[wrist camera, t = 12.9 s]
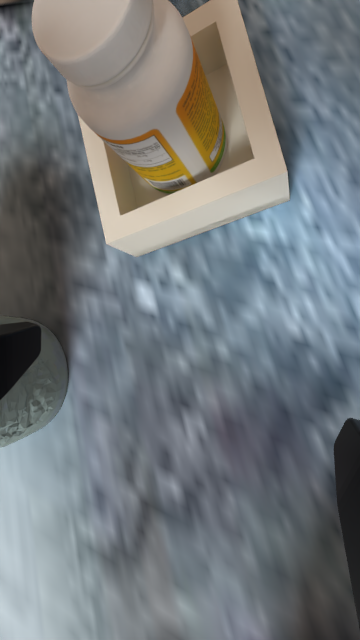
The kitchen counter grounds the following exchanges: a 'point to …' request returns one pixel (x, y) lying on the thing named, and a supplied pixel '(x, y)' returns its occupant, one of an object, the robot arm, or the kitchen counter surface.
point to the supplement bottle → (136, 85)
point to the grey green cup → (34, 390)
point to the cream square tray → (238, 164)
